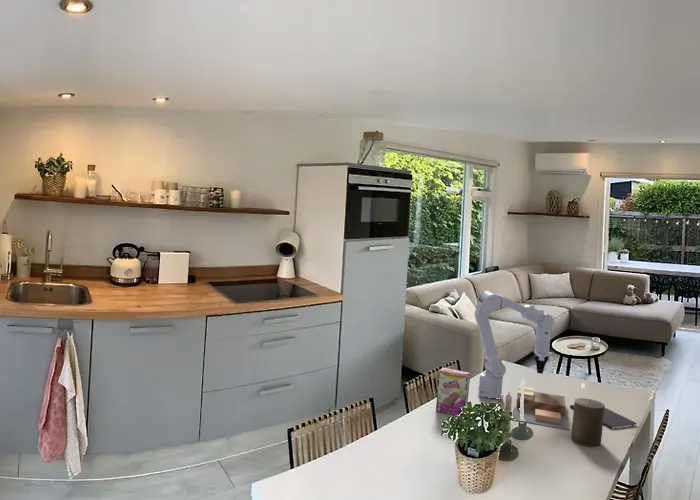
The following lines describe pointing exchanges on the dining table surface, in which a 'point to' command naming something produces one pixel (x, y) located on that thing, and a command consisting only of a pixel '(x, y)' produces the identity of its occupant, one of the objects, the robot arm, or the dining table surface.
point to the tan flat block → (545, 403)
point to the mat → (530, 418)
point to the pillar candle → (587, 422)
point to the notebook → (614, 419)
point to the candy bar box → (452, 390)
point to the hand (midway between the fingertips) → (539, 373)
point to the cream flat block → (526, 393)
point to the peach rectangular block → (547, 416)
